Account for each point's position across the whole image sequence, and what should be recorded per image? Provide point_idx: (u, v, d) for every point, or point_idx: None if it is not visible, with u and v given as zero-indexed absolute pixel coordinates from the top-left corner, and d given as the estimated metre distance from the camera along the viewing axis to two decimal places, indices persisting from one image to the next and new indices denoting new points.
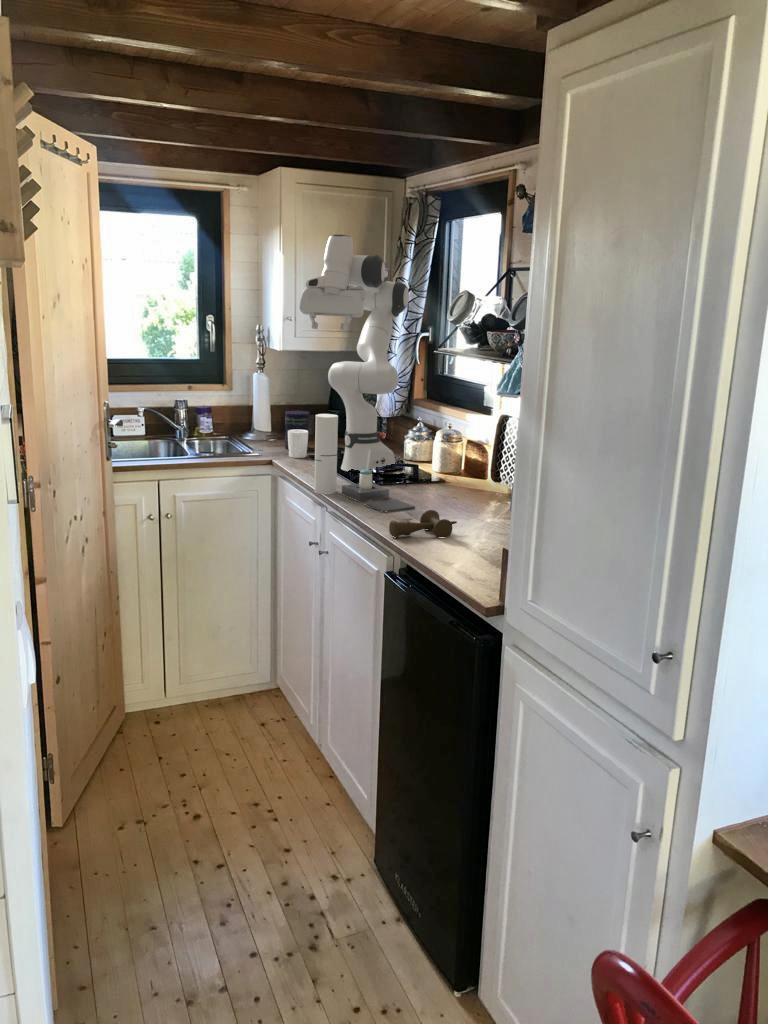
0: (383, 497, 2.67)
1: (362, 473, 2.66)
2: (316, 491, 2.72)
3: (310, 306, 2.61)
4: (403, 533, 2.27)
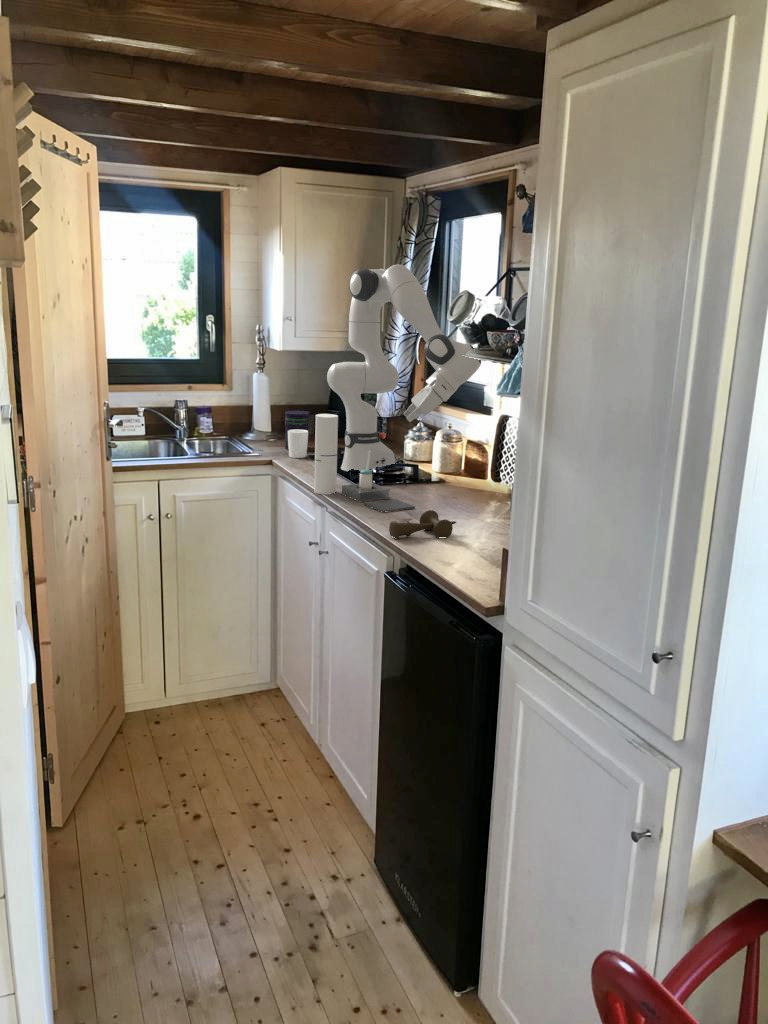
0: (383, 497, 2.67)
1: (362, 473, 2.66)
2: (316, 491, 2.72)
3: None
4: (403, 534, 2.26)
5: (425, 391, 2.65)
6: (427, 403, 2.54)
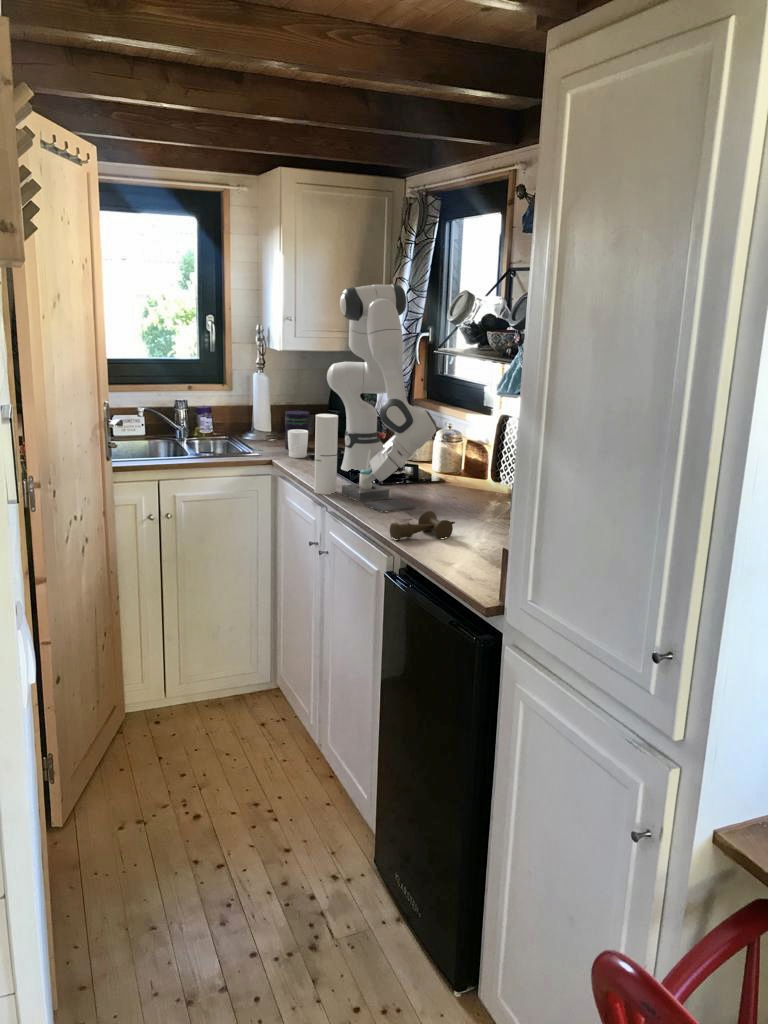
0: (383, 497, 2.67)
1: (362, 473, 2.66)
2: (316, 491, 2.72)
3: None
4: (405, 535, 2.25)
5: (382, 455, 2.70)
6: (382, 470, 2.58)
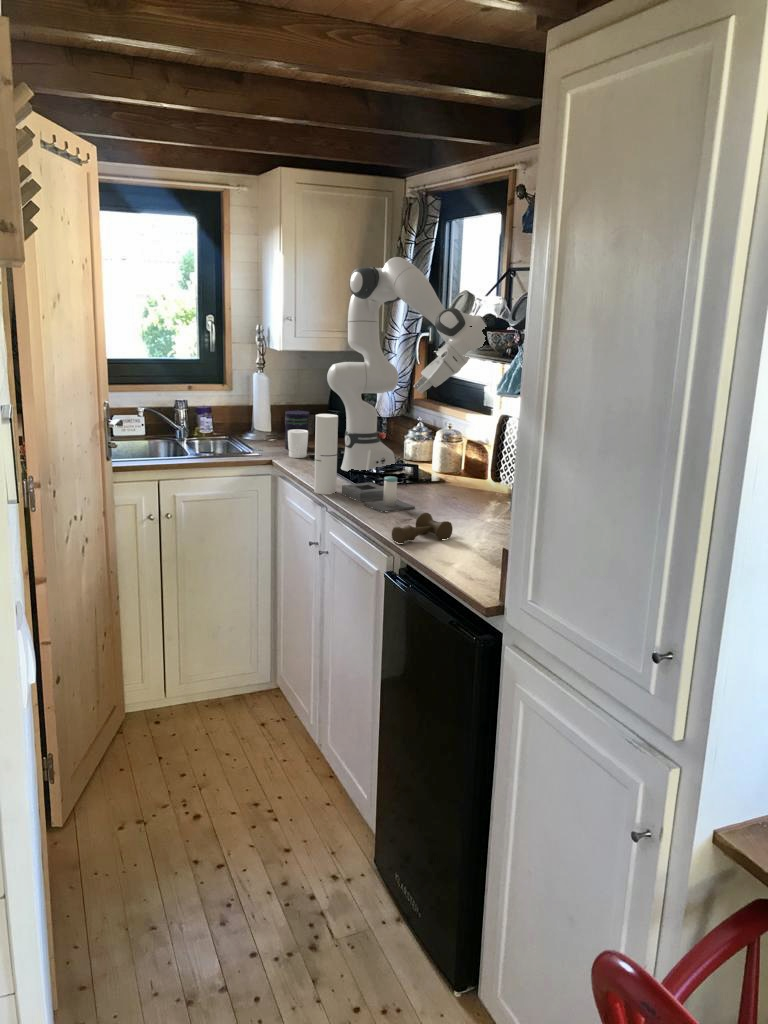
0: None
1: (387, 480, 2.55)
2: (316, 491, 2.72)
3: None
4: (408, 539, 2.22)
5: (435, 363, 2.64)
6: (438, 375, 2.52)
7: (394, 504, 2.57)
